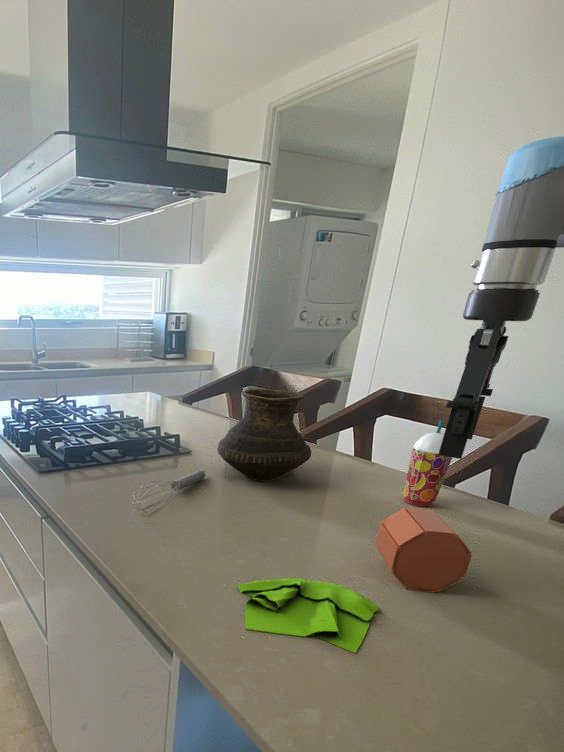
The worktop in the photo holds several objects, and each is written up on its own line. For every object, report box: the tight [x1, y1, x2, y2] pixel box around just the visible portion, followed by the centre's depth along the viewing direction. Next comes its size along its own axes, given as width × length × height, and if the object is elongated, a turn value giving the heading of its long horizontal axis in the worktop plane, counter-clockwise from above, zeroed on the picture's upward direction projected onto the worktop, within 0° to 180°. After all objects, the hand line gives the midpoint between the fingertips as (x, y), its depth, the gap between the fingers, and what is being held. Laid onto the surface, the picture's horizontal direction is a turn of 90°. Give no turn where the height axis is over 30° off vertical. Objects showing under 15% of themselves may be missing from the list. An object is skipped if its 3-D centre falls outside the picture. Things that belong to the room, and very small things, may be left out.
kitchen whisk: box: [132, 469, 207, 513], centre depth 119 cm, size 6×34×6 cm, turn 145°
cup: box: [374, 506, 473, 594], centre depth 83 cm, size 10×11×11 cm
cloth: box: [236, 577, 380, 654], centre depth 75 cm, size 20×22×2 cm
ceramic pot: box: [216, 388, 312, 482], centre depth 130 cm, size 24×24×22 cm
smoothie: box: [402, 419, 453, 508], centre depth 114 cm, size 8×8×20 cm
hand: (455, 446), depth 72 cm, fingers open, 13 cm apart
